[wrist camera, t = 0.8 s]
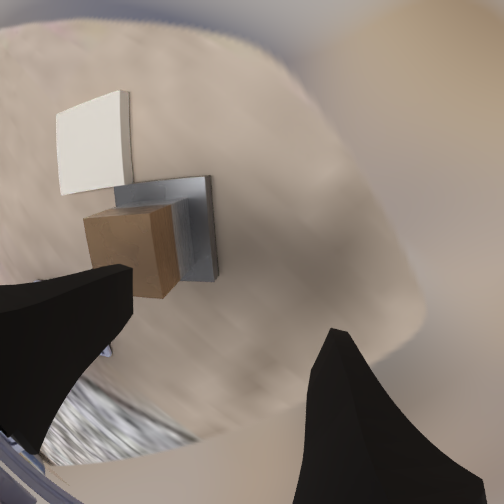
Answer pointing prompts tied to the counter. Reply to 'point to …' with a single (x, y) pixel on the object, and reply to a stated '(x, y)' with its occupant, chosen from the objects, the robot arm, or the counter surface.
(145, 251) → the block
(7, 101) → the counter surface
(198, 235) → the stand
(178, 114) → the counter surface
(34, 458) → the ramen bowl
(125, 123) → the stand
